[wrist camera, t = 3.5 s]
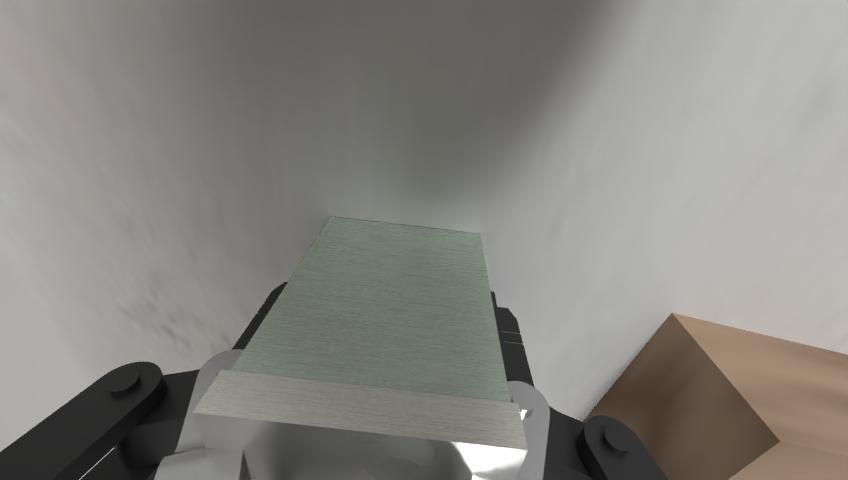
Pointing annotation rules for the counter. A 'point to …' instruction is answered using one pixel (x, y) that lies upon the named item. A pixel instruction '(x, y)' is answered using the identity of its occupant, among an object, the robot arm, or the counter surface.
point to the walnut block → (734, 404)
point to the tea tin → (373, 366)
